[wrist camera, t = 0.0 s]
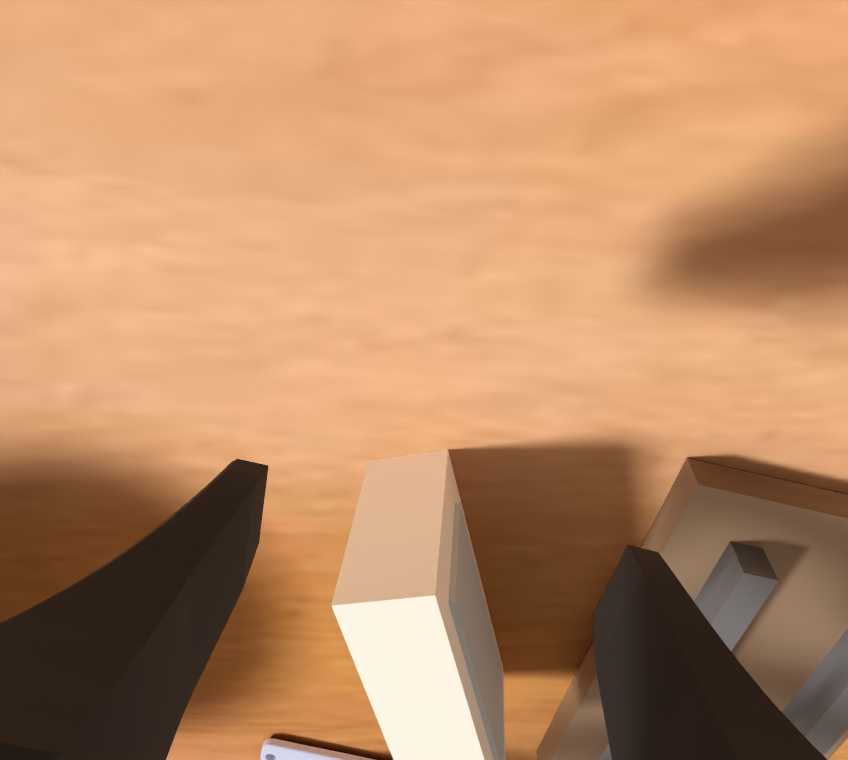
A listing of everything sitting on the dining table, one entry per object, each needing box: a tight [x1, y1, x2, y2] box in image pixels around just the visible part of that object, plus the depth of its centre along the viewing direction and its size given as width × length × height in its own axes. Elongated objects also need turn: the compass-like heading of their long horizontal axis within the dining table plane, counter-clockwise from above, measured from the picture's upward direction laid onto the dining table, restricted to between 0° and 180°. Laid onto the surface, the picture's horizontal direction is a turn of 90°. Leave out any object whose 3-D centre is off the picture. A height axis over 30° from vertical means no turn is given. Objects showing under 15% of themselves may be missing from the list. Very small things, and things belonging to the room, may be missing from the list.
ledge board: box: [537, 458, 848, 760], centre depth 27 cm, size 18×11×3 cm, turn 168°
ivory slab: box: [331, 450, 505, 760], centre depth 25 cm, size 12×3×7 cm, turn 13°
